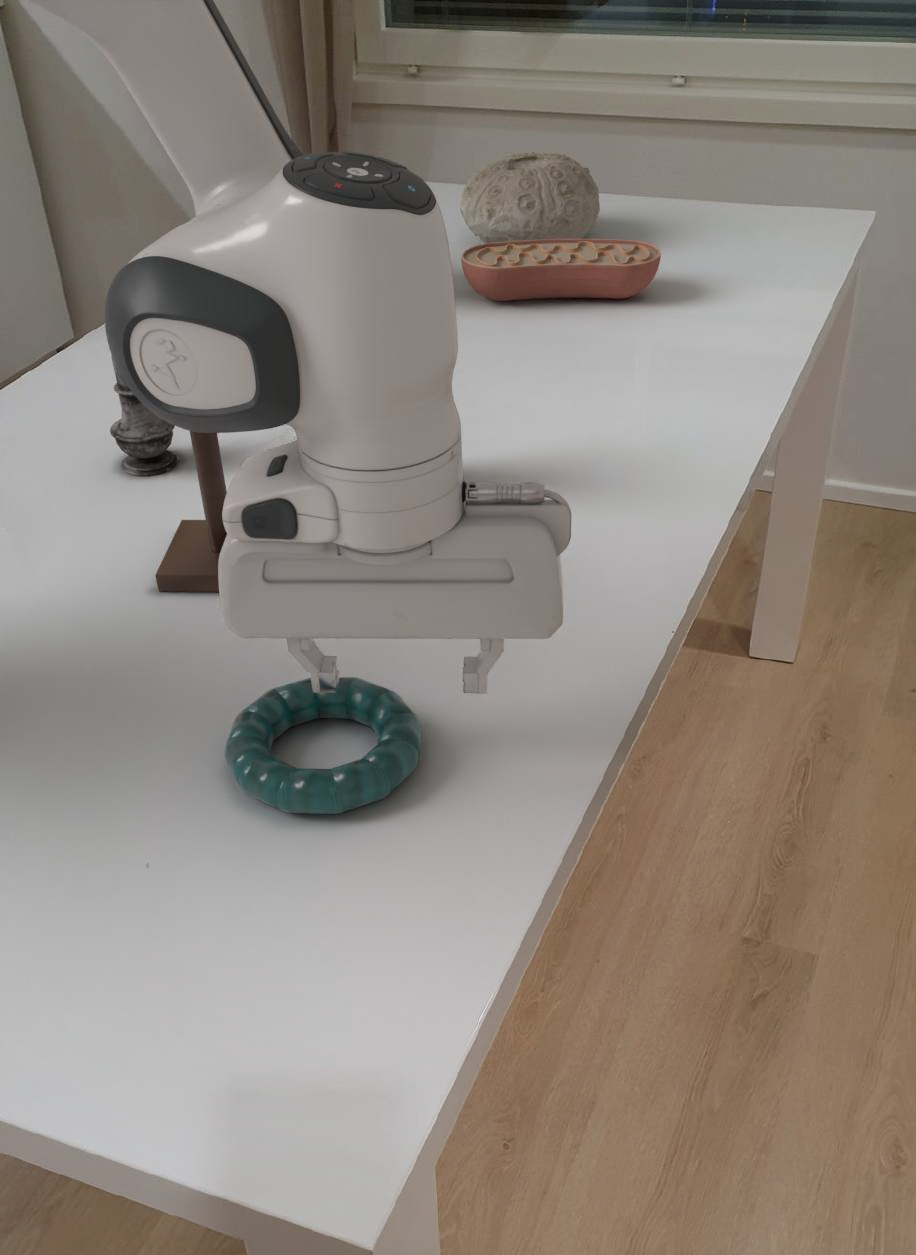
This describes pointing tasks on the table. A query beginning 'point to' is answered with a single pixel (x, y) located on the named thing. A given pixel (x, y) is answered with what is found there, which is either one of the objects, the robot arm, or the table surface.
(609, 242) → the mitochondrion model
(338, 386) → the robot arm
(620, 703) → the table surface
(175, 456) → the salt shaker
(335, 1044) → the table surface
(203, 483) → the post stand
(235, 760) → the ring
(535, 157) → the decorative shell
